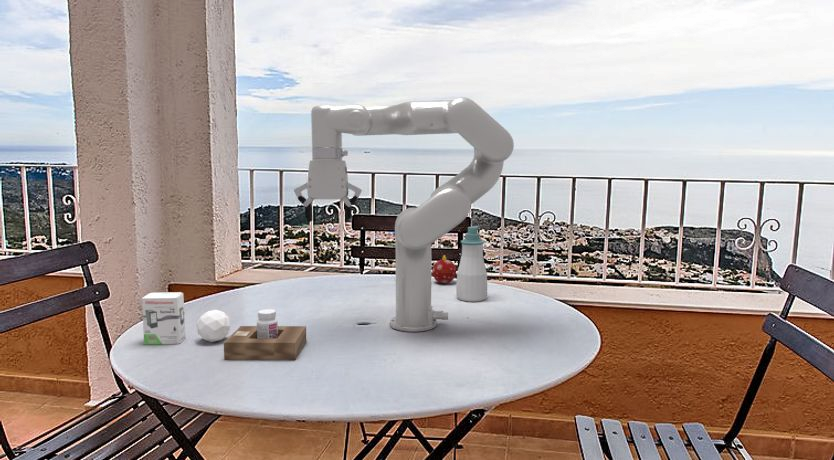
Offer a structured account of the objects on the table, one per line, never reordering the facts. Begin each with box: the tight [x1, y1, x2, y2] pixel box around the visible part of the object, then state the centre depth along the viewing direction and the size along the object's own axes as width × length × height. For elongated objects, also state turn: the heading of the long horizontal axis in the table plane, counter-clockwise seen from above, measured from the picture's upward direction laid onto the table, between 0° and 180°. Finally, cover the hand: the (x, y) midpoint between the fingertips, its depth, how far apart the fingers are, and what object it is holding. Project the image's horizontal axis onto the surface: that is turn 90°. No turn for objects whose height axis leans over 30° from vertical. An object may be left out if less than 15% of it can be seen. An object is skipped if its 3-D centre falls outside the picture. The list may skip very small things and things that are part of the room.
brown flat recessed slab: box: [223, 325, 307, 361], centre depth 132 cm, size 16×12×4 cm
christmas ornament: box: [431, 254, 457, 284], centre depth 199 cm, size 9×9×10 cm
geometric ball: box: [196, 309, 231, 343], centre depth 139 cm, size 8×8×8 cm
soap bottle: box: [455, 225, 488, 303], centre depth 178 cm, size 10×10×23 cm
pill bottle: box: [256, 308, 279, 339], centre depth 132 cm, size 5×5×8 cm
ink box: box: [141, 291, 186, 345], centre depth 138 cm, size 9×5×12 cm, turn 94°
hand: (328, 221), depth 146 cm, fingers open, 9 cm apart
